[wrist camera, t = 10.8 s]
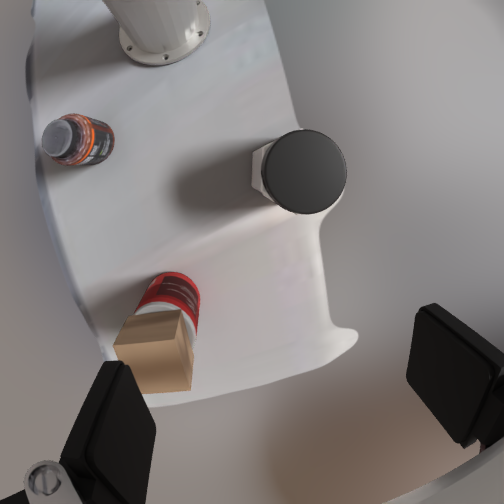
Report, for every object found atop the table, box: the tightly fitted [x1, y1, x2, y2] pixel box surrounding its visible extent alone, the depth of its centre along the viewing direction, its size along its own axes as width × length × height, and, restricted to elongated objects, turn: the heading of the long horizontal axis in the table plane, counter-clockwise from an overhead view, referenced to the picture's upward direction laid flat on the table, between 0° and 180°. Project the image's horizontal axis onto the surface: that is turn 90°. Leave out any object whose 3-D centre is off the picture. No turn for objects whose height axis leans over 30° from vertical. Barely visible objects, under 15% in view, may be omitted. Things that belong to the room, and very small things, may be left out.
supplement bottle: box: [42, 114, 114, 165], centre depth 30 cm, size 6×6×11 cm
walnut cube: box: [113, 309, 194, 394], centre depth 28 cm, size 6×6×6 cm
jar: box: [251, 128, 347, 215], centre depth 33 cm, size 9×8×12 cm
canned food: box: [133, 272, 200, 350], centre depth 37 cm, size 8×8×11 cm
